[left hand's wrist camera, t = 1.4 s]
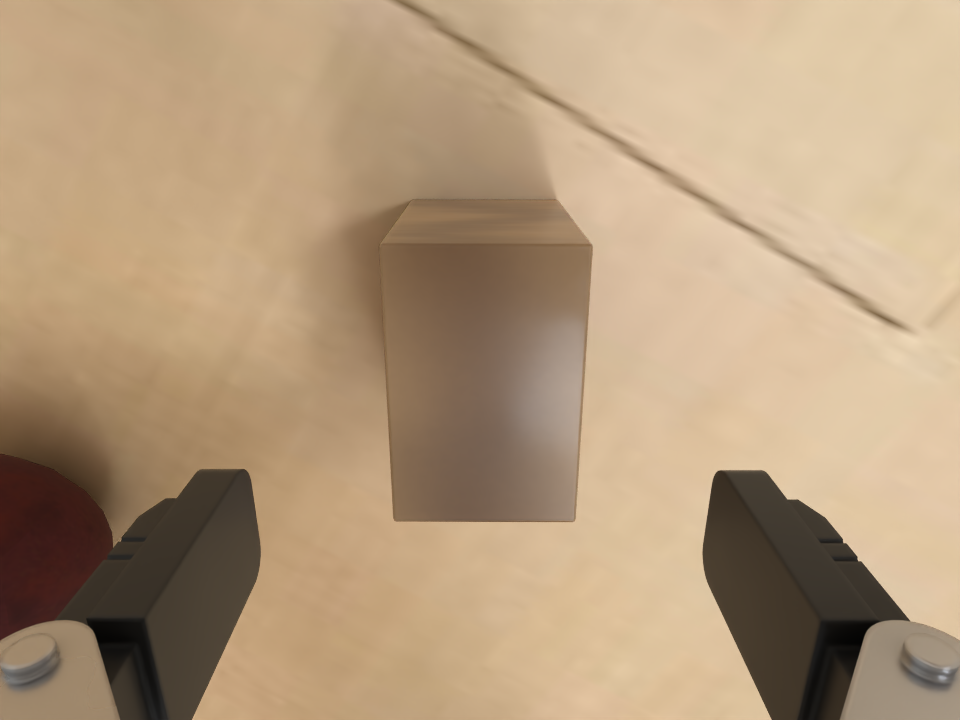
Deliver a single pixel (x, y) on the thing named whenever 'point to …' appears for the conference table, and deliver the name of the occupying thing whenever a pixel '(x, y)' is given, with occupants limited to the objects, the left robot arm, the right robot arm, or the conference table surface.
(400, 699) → the conference table surface
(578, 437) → the block
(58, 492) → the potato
